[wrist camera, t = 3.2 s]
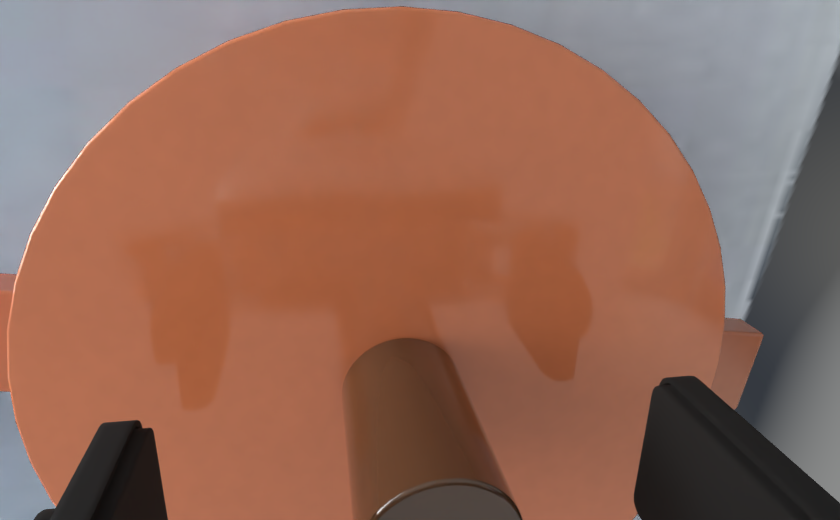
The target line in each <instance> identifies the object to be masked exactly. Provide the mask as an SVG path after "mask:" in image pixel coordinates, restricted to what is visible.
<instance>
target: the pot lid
mask: <svg viewBox="0 0 840 520" xmlns="http://www.w3.org/2000/svg"><path fill="white" fill-rule="evenodd" d="M724 326H725V279H724V271H723V263H722V255H721V247H720V244H719V240H718V236H717V233H716V229H715V225H714V222H713V218H712V215H711V211H710V208H709V206H708V203H707V201H706V199H705V197H704V194H703V192H702V190H701V188H700V185H699V183H698V181H697V179H696V176H695V174H694V172H693V170H692V168H691V167H690V165H689V164H688V162H687V161H686V159H685V157H684V156H683V154H682V153H681V151H680V150H679V148H678V147H677V145H676V143H675V142H674V140H673V139H672V137H671V136H670V134H669V133H668V132H667V131H666V129H665V128H664V127H663V126H662V125H661V124H660V123H659V122H658V120H657V119H656V118H655V117H654V116H653V115H652V114H651V113H650V111H649V110H648V109H647V108H646V107H645V106H644V105H643V104H642V102H641V101H640V100H639V99H638V98H636V97H635V96H634V95H633V94H632V93H630V92H629V91H628V90H627V89H625V88H624V87H623V86H622V85H621V84H619V83H618V82H617V81H616V80H615V79H613V78H612V77H611V76H610V75H608V74H607V73H606V72H605V71H604V70H602V69H601V68H599V67H597V66H596V65H594V64H592V63H591V62H589V61H587V60H586V59H584V58H582V57H581V56H579V55H577V54H576V53H574V52H572V51H570V50H569V49H567V48H565V47H564V46H562V45H560V44H558V43H556V42H553V41H551V40H548V39H546V38H544V37H541V36H539V35H536V34H534V33H531V32H529V31H526V30H524V29H521V28H519V27H516V26H514V25H511V24H508V23H503V22H499V21H495V20H491V19H487V18H483V17H479V16H475V15H470V14H466V13H462V12H458V11H447V10H436V9H426V8H415V7H404V6H398V7H378V8H358V9H342V10H337V11H332V12H327V13H322V14H317V15H312V16H307V17H301V18H296V19H291V20H286V21H283V22H280V23H277V24H274V25H271V26H269V27H266V28H263V29H260V30H257V31H254V32H251V33H248V34H246V35H243V36H240V37H237V38H234V39H231V40H229V41H227V42H225V43H223V44H221V45H219V46H217V47H215V48H213V49H211V50H209V51H207V52H205V53H204V54H202V55H200V56H198V57H196V58H194V59H192V60H190V61H188V62H186V63H184V64H182V65H180V66H179V67H177V68H175V69H174V70H172V71H171V72H169V73H168V74H167V75H165V76H164V77H163V78H161V79H160V80H158V81H157V82H156V83H154V84H153V85H152V86H150V87H149V88H147V89H146V90H145V91H143V92H142V93H140V94H139V95H138V96H136V97H135V98H134V99H132V100H131V101H129V102H128V103H127V104H126V105H125V106H124V107H123V108H122V109H121V110H120V111H119V112H118V113H117V114H116V115H115V116H114V117H113V118H112V119H111V120H110V121H109V122H108V123H107V124H106V125H105V126H104V127H103V128H102V129H101V130H100V131H99V132H98V133H97V134H95V135H94V136H93V137H92V138H91V139H90V140H89V141H88V142H87V144H86V145H85V146H84V148H83V149H82V150H81V152H80V153H79V154H78V156H77V157H76V158H75V160H74V161H73V163H72V164H71V165H70V167H69V168H68V169H67V171H66V172H65V173H64V175H63V176H62V177H61V179H60V180H59V181H58V183H57V184H56V185H55V187H54V189H53V191H52V193H51V194H50V196H49V198H48V200H47V202H46V204H45V206H44V208H43V210H42V212H41V214H40V215H39V217H38V219H37V221H36V223H35V225H34V227H33V229H32V231H31V233H30V235H29V238H28V241H27V244H26V248H25V251H24V254H23V257H22V260H21V263H20V266H19V269H18V272H17V275H16V278H15V281H14V287H13V293H12V300H11V306H10V313H9V319H8V326H7V367H8V382H9V388H10V393H11V398H12V404H13V409H14V415H15V420H16V424H17V427H18V429H19V432H20V435H21V438H22V440H23V443H24V446H25V449H26V452H27V454H28V457H29V460H30V463H31V465H32V466H33V468H34V470H35V472H36V474H37V475H38V477H39V479H40V481H41V483H42V485H43V486H44V488H45V490H46V492H47V494H48V496H49V497H50V499H51V501H52V502H53V503H54V505H55V506H57V504H58V503H59V501H60V499H61V497H62V495H63V493H64V491H65V490H66V488H67V486H68V484H69V482H70V480H71V478H72V476H73V475H74V473H75V471H76V469H77V467H78V465H79V463H80V462H81V460H82V458H83V456H84V454H85V452H86V450H87V448H88V447H89V445H90V443H91V441H92V439H93V437H94V435H95V434H96V432H97V430H98V428H99V426H100V425H101V424H102V423H105V422H118V421H130V420H139V421H140V422H141V424H142V428H152V429H153V431H154V436H155V442H156V448H157V455H158V461H159V467H160V473H161V480H162V486H163V492H164V498H165V505H166V511H167V517H168V520H633V519H634V518H635V517H636V515H637V514H638V513H637V511H636V508H635V504H634V490H635V484H636V479H637V473H638V468H639V462H640V457H641V451H642V446H643V440H644V435H645V429H646V423H647V418H648V412H649V407H650V401H651V396H652V391H653V389H654V388H655V387H656V386H659V384H660V382H661V381H662V379H664V378H666V377H679V376H695V377H697V378H698V379H699V380H701V381H702V382H703V383H704V384H705V385H706V386H707V387H708V388H710V389H712V385H713V382H714V378H715V375H716V371H717V368H718V364H719V359H720V353H721V346H722V339H723V333H724Z"/></svg>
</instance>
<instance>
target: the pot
mask: <svg viewBox="0 0 840 520" xmlns="http://www.w3.org/2000/svg"><path fill="white" fill-rule="evenodd" d="M16 275H17V274H3V273H0V391H4V392H10V388H9V382H8V367H7V326H8V319H9V313H10V306H11V300H12V293H13V287H14V281H15V278H16ZM762 339H763V334H762V333H761V332H759V331H758V330H756V329H755V328H753V327H752V326H750V325H749V324H747V323H746V322H745V321H743V320H741V319H735V318H725V326H724V333H723V339H722V346H721V353H720V359H719V364H718V368H717V371H716V375H715V378H714V382H713V385H712V389H711V390H712V391H713V392H714V393H715V394H716V395H718V396H719V397H720V398H721V399H722V400H723V401H724V402H726V403H727V404H728V405H729V406H730V407H731V408H732V409H733V410H734V409H736V408H737V406H738V403H739V401H740V398H741V396H742V393H743V390H744V387H745V385H746V382H747V379H748V377H749V374H750V371H751V368H752V366H753V363H754V361H755V358H756V355H757V353H758V350H759V347H760V345H761V342H762Z"/></svg>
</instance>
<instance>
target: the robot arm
mask: <svg viewBox="0 0 840 520" xmlns="http://www.w3.org/2000/svg"><path fill="white" fill-rule="evenodd" d="M634 504H635V508H636V511H637V513H638V515H639V516H640V518H641V519H642V520H840V503H839V502H838V501H837V500H836V499H834V498H833V497H832V496H831V495H830V494H829V493H828V492H826V491H825V490H824V489H823V488H822V487H821V486H820V485H819V484H817V483H816V482H815V481H814V480H813V479H812V478H811V477H809V476H808V475H807V474H806V473H805V472H804V471H802V470H801V469H800V468H799V467H798V466H797V465H796V464H795V463H793V462H792V461H791V460H790V459H789V458H788V457H787V456H785V454H783V453H782V452H781V451H780V450H779V449H778V448H777V447H775V446H774V445H773V444H772V443H771V442H770V441H768V440H767V439H766V438H765V437H764V436H763V435H762V434H761V433H760V432H758V431H757V430H756V429H755V428H754V427H753V426H752V425H750V424H749V423H748V422H747V421H746V420H745V419H744V418H743V417H741V416H740V415H739V414H738V413H737V412H736V411H735V410H733V409H732V408H731V407H730V406H729V405H728V404H727V403H726V402H724V401H723V400H722V399H721V398H720V397H719V396H718V395H716V394H715V393H714V392H713V391H712V390H711V389H710V388H708V387H707V386H706V385H705V384H704V383H703V382H702V381H701V380H699V379H698V378H697V377H695V376H679V377H666V378H664V379H662V381H661V382H660V384H659V386H656V387H655V388H654V389H653V391H652V396H651V401H650V407H649V412H648V418H647V423H646V429H645V435H644V440H643V446H642V451H641V457H640V462H639V468H638V473H637V479H636V484H635V490H634ZM34 520H168V517H167V511H166V505H165V498H164V492H163V486H162V480H161V473H160V467H159V461H158V455H157V448H156V442H155V436H154V431H153V429H152V428H142V424H141V422H140V421H139V420H130V421H118V422H105V423H102V424H101V425H100V426H99V428H98V430H97V432H96V434H95V435H94V437H93V439H92V441H91V443H90V445H89V447H88V448H87V450H86V452H85V454H84V456H83V458H82V460H81V462H80V463H79V465H78V467H77V469H76V471H75V473H74V475H73V476H72V478H71V480H70V482H69V484H68V486H67V488H66V490H65V491H64V493H63V495H62V497H61V499H60V501H59V503H58V504H57V506H56V508H55V509H46V510H43V511H41V512H40V513H38V515H37V516H36V517H35V519H34Z"/></svg>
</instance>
